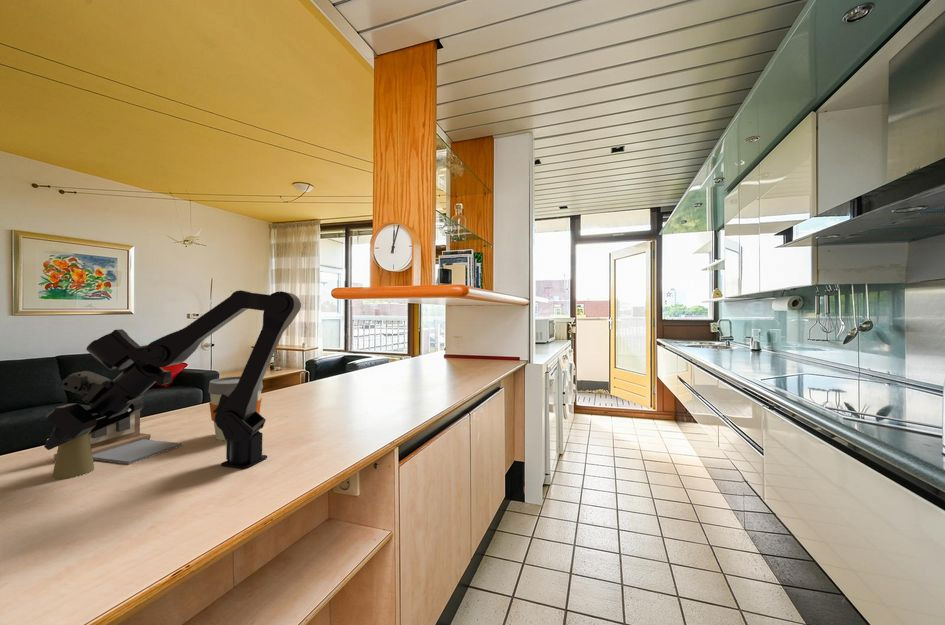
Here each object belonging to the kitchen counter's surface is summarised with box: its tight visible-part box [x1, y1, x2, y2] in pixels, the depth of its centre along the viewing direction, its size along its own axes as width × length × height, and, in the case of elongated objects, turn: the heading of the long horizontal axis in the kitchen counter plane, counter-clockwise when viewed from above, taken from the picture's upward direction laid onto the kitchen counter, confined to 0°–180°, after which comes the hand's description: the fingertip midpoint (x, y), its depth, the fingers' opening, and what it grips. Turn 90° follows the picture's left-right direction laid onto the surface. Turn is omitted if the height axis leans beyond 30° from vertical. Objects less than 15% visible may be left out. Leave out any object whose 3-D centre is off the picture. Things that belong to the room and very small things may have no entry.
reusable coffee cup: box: [207, 375, 264, 442], centre depth 102 cm, size 13×12×15 cm
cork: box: [51, 430, 95, 480], centre depth 78 cm, size 6×6×11 cm
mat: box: [92, 439, 183, 465], centre depth 89 cm, size 12×12×1 cm
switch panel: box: [53, 407, 152, 460], centre depth 91 cm, size 6×16×10 cm, turn 168°
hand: (66, 440), depth 77 cm, fingers open, 9 cm apart
